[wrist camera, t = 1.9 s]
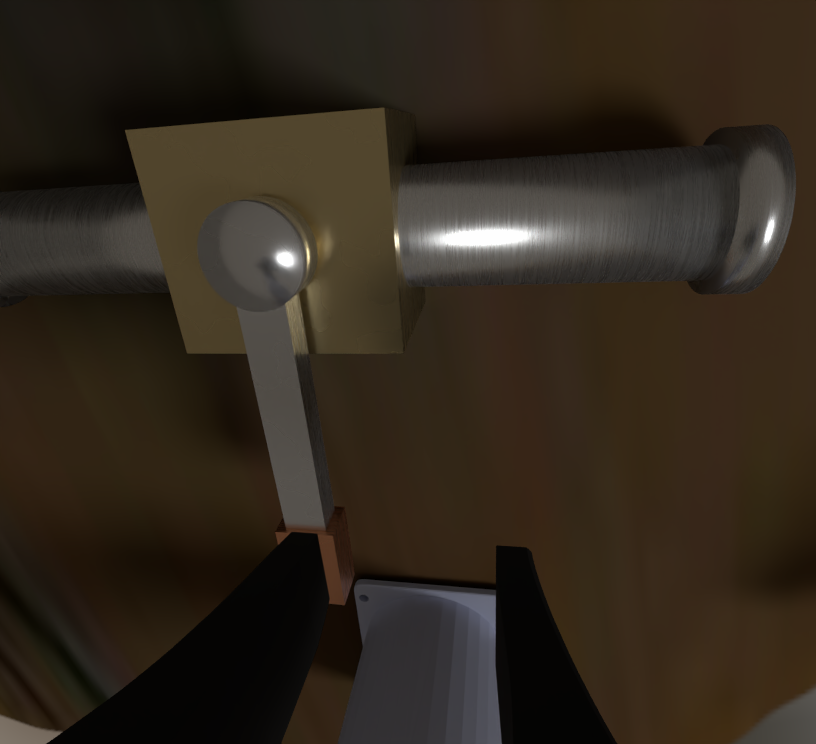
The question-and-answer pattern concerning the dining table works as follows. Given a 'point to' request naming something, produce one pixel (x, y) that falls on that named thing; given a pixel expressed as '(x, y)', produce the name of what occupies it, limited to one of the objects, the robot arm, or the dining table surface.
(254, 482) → the dining table surface
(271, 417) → the lever
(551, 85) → the dining table surface
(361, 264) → the valve pipe
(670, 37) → the dining table surface
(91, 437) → the dining table surface
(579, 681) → the robot arm
